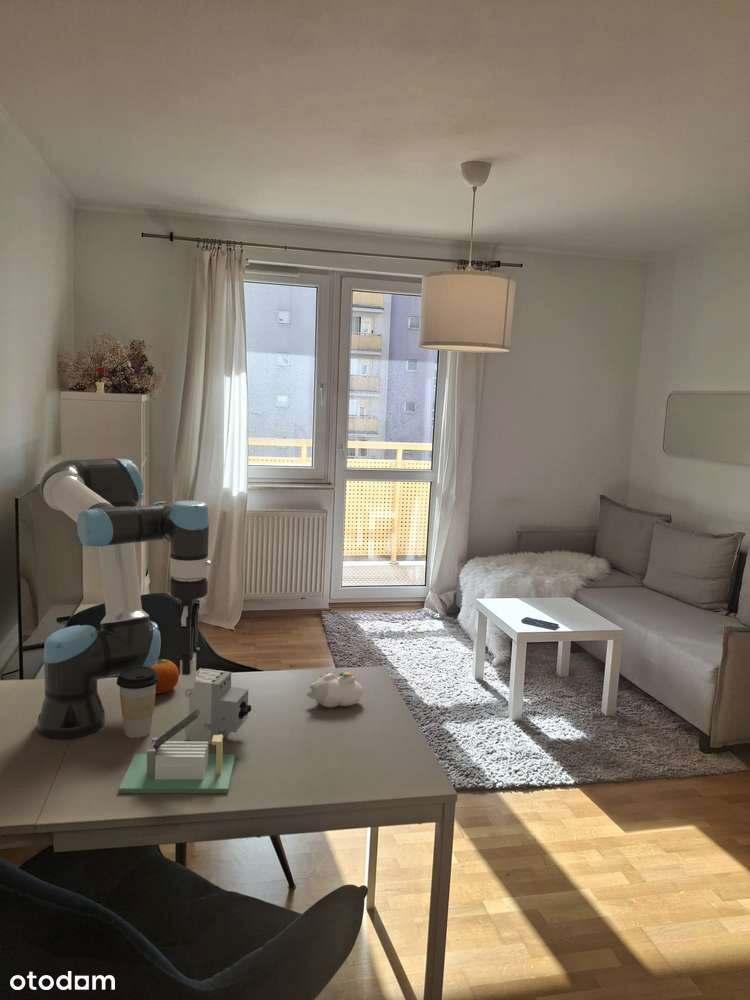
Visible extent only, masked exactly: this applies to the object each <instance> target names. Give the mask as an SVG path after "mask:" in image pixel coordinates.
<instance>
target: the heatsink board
mask: <svg viewBox="0 0 750 1000" xmlns="http://www.w3.org/2000/svg"><path fill="white" fill-rule="evenodd" d="M158 738H159V737H152V738H151V743H152V742H153V741H154V740H157V739H158ZM223 744H224V738H223V735H213V738H212V744H211V745H212V746H215V747H216V748H215V749H216V750H215V751H216V752H215V753H212V754H211V753H210V754H209V744H208V742H200V741H190V740H184V741H182V740H181V741H179V740H178V741H176V740H175V741H172V740H171V741H170V740H167V741H166V742H165V743H164V744H162V745H161V746H160V747H158V748H157V749H150V748H149V749H148V748H147V750H146V753H135V754H134V755H133V757H132V759H131V762H130V764H129V766H128V768H127V770H126V771H125V772H126V773H125V774H124V776H123V779H122V781H121V783H120V785H119V787H118V794H229V790H230V785H231V780H232V775H233V771H234V765H235V761H236V754H233V753H231V754H227V753H226V754H224V753H223V751H224V750H223V748H224V745H223Z"/></svg>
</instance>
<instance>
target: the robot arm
mask: <svg viewBox="0 0 750 1000" xmlns="http://www.w3.org/2000/svg"><path fill="white" fill-rule="evenodd" d="M39 492H40V496H41V498H42V499H43V501H44V502H45V504H47V505H48V506H49V507H50V508H52V509H54V510H56V511H60V512H63V513H64V514H65V515H67V516H68V517H69V518H70V519H71V520H72V521H74V522H75V523H76V529H77V536H78V538H79V541H80V543H81V544H82V545H83V546H85V547H98V551H99V561H100V571H101V580H102V588H103V597H104V598H103V599H104V605H105V606H104V607H105V616H104V617H103V619H102V620H101V621H100V630H97V628H96V627H94V626H93V625H90V624H89V625H88V624H83V625H80V624H77V625H71V626H67V627H64V628H61V629H58V630H56V631H54V632H53V633H52V634H50V635H49V636H47V638H46V640H45V641H44V646H43V647H44V648H43V656H42V659H43V660H42V661H43V662H44V664H43V667H44V669H43V670H44V672H43V673H44V674H43V675H44V699H43V702H42V705H41V710H40V713H39V714H38V717H37V722H36V723H37V731H38V733H39V734H41V736H44V737H46V738H51V739H57V740H59V739H60V740H62V739H63V740H64V739H67V740H68V739H74V738H75V739H76V738H81V737H84V736H87V735H91V734H93V733H95V732H97V731H98V730H100V729H101V728H103V726H104V725H105V723H106V711H105V707H104V706H103V702H102V700H101V698H100V697H101V696H100V694H99V691H98V680H102V679H107V678H111V677H118V676H120V673H121V672H122V671H123V670H125V669H127V668H131V667H138V666H144V667H150V668H151V667H152V666H154V664H155V663H156V662H157V659H159V656H160V654H161V653H160V652H161V647H162V646H161V645H162V643H161V642H162V640H161V632H160V630H159V626H158V624H157V623H156V622H155V621H152V620H151V619H150V614H148V613H147V612H146V611H144V609H143V607H142V598H141V590H140V587H141V586H140V581H139V580H140V579H139V572H138V564H137V563H138V561H137V553H136V546H135V544H136V543H146V542H155V541H156V542H157V541H167V542H169V543H170V547H169V548H170V554H169V558H170V559H169V575H170V577H171V578H170V580H169V595H170V596H171V597H173V598H174V599H179V600H180V601H179V604H178V606H177V614H178V616H177V618H176V621H177V637H178V638H177V641H178V642H177V643H178V645H177V646H178V647H177V648H178V649H177V650H178V652H177V653H178V654H177V656H176V658H175V659H176V660H179V689H184V690H186V689H193V688H194V683H195V682H196V672H197V652H200V651H201V647H198V644H199V641H198V639H199V638H198V637H199V616H200V615H199V611H200V608H201V607H200V606H201V605H200V604H201V603H200V602H201V601H200V599H201V598H204V597H206V596H207V595H208V593H209V592H208V591H209V590H208V589H209V588H208V587H209V584H208V583H209V579H208V577H207V575H208V573H209V570H208V567H210V566H211V565H212V562H211V561H210V560H208V559H209V557H208V556H209V533H210V532H209V531H210V530H209V528H210V518H209V517H210V516H209V507H208V504H207V503H206V502H203V501H197V500H178V501H175V502H173V503H172V502H170V501H156V502H154V503H152V504H151V505H139V506H138V505H137V504H139V503H140V502H141V501H142V500H143V497H144V484H143V478H142V476H141V472H140V470H139V468H138V466H137V465H136V464H135V462H133V461H132V460H130V459H128V458H116V457H111V458H91V459H89V458H87V459H85V458H83V459H68V460H64V461H61V462H58V463H55V464H54V465H52V466H51V467H50V468H49V469H47V470H46V472H45V473H44V474H43V475H42V477H41V480H40V483H39Z"/></svg>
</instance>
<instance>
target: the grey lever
mask: <svg viewBox="0 0 750 1000" xmlns="http://www.w3.org/2000/svg"><path fill="white" fill-rule="evenodd" d="M199 713H200V711H199V709H197V710H195V711H194V712H193V713H191V714H190V715H189V714H188V716H186V717H185V718H183V719H182V720H181V721H179V722H178V723H177V724H175V725H174V726H172V727H171V728H170V729H169V730H167V731H166V732H165V733H164V734H163V735H161V736H159V737H157V738H158V739H157V740H154V741H153V742H152V741H151V745H150V747H149V749H157V748H158V747H160V746H161V745H162V744H164V743H165V742H166V741H170V739H171V738H173V737H175V735H176V734H178V733H180V732H181V731H183V730H184V729H185V727H186V726H187V725H189V724H190V723H191V722H193V721H194V720H195V719H197V718H198V716H199Z"/></svg>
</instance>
